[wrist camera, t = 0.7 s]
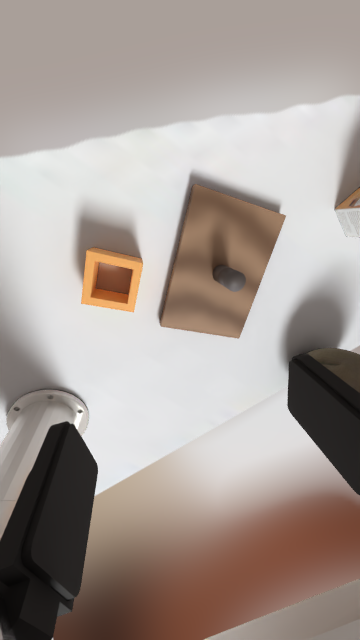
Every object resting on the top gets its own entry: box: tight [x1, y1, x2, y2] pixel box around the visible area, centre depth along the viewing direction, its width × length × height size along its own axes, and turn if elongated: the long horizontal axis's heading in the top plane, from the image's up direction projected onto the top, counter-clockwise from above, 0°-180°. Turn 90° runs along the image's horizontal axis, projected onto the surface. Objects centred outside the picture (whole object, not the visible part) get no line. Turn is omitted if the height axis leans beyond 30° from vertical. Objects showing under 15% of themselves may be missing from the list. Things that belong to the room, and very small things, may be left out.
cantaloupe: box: [306, 348, 360, 393], centre depth 39 cm, size 14×14×15 cm
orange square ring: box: [81, 247, 143, 312], centre depth 29 cm, size 7×7×4 cm
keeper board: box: [160, 184, 286, 338], centre depth 31 cm, size 20×14×7 cm
